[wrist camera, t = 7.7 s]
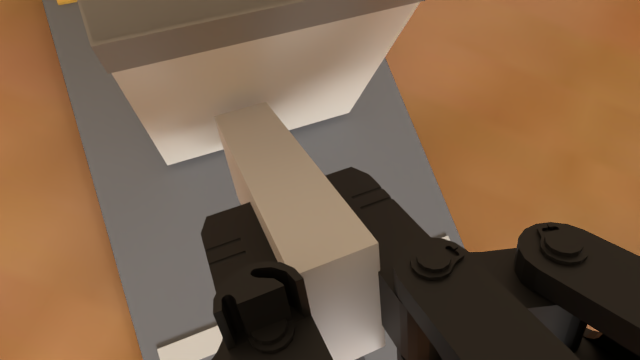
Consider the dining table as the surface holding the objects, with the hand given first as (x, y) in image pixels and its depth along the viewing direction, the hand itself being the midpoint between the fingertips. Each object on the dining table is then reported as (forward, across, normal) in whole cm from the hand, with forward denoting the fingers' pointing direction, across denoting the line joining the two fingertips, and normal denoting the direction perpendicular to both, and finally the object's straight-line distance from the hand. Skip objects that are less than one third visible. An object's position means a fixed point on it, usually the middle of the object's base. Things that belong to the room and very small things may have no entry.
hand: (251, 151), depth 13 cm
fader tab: (+4, +1, 0) cm, 5 cm away
